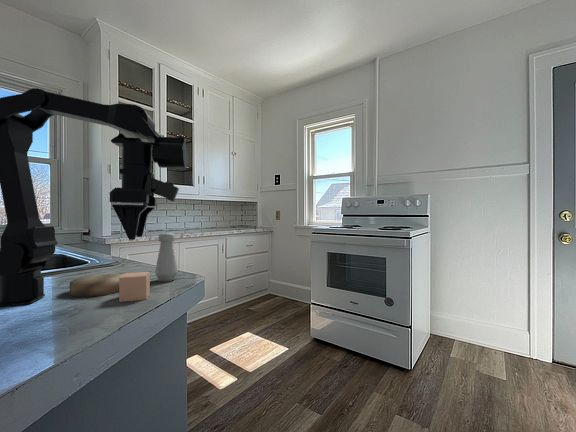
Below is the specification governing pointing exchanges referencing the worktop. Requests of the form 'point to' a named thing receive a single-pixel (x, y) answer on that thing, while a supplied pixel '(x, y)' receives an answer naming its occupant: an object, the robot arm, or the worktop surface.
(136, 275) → the terracotta block
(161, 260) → the salt shaker
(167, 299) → the worktop surface
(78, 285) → the walnut base
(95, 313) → the worktop surface
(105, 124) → the robot arm
